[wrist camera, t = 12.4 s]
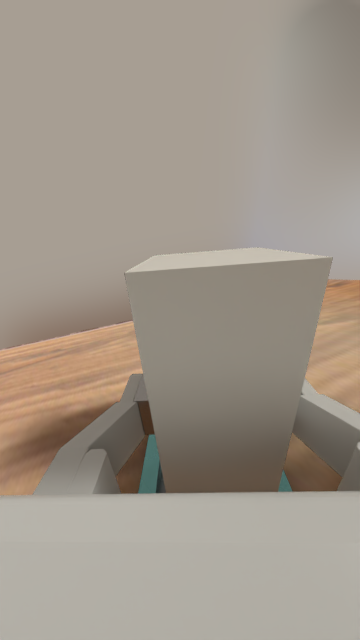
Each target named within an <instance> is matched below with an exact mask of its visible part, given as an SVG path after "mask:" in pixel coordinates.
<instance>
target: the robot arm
mask: <svg viewBox="0 0 360 640" xmlns="http://www.w3.org/2000/svg"><path fill="white" fill-rule="evenodd" d="M292 433H293V434H294V435H296V436H297V437H298V438H299V439H300V440H301V441H302V442H303V443H305V444H306V445H307V446H308V447H309V448H310V449H311V450H312V451H313V452H315V453H316V454H317V455H318V456H319V457H320V458H321V459H322V460H324V461H325V462H326V463H327V464H328V465H329V466H330V467H331V468H332V469H334V470H335V471H336V472H337V473H338V474H339V475H340V476H341V477H342V480H341V482H340V484H339V486H338V489H337V491H305V492H223V493H144V494H121V491H120V488H119V486H118V483H117V480H116V475H117V474H118V472H119V471H120V470H121V468H122V467H123V466H124V464H125V463H126V461H127V460H128V459H129V457H130V456H131V455H132V453H133V452H134V451H135V449H136V448H137V446H138V445H139V444H140V442H141V441H142V440H143V438H144V437H145V435H153V434H155V432H154V427H153V422H152V417H151V411H150V406H149V401H148V396H147V390H146V385H145V380H144V375H143V374H132V375H131V376H130V378H129V380H128V383H127V385H126V388H125V390H124V393H123V395H122V398H121V400H120V402H116V403H115V404H114V405H112V406H111V407H110V408H109V409H108V410H106V411H105V412H104V413H103V414H101V415H100V416H99V417H98V418H97V419H95V420H94V421H93V422H92V423H90V424H89V425H88V426H87V427H86V428H84V429H83V430H82V431H81V432H80V433H78V434H77V435H76V436H75V437H73V438H72V439H71V440H70V441H69V442H67V443H66V444H65V445H64V446H62V447H61V448H60V449H59V451H58V453H57V454H56V456H55V458H54V459H53V461H52V463H51V464H50V466H49V468H48V469H47V471H46V473H45V474H44V476H43V478H42V479H41V481H40V483H39V484H38V486H37V488H36V489H35V491H34V493H33V494H32V495H0V640H360V413H358V412H356V411H354V410H352V409H350V408H348V407H346V406H344V405H342V404H341V403H339V402H337V401H335V400H333V399H331V398H329V397H327V396H325V395H323V394H318V393H317V392H316V391H315V389H314V388H313V387H312V386H311V385H310V384H309V382H308V381H307V380H306V379H304V383H303V387H302V391H301V396H300V400H299V404H298V408H297V413H296V417H295V421H294V425H293V430H292Z"/></svg>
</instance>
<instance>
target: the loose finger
mask: <svg viewBox="0 0 360 640" xmlns="http://www.w3.org/2000/svg"><path fill="white" fill-rule="evenodd" d="M332 259H333V257H327V256H319V255H311V254H303V253H296V252H288V251H281V250H274V249H266V248H258V247H257V248H245V249H232V250H218V251H206V252H193V253H180V254H167V255H155V256H153V257H151V258H149V259H147V260H146V261H144V262H142V263H141V264H139V265H137V266H135V267H133V268H132V269H130V270H128V271H126V272H125V273H124V275H125V280H126V284H127V290H128V295H129V301H130V306H131V311H132V316H133V322H134V327H135V332H136V338H137V343H138V348H139V353H140V359H141V364H142V369H143V375H144V380H145V385H146V390H147V396H148V401H149V406H150V411H151V417H152V422H153V427H154V432H155V438H156V443H157V448H158V453H159V459H160V464H161V469H162V474H163V480H164V485H165V490H166V493H223V492H278V489H279V485H280V481H281V477H282V472H283V468H284V464H285V460H286V455H287V451H288V447H289V443H290V438H291V434H292V430H293V425H294V421H295V417H296V413H297V408H298V404H299V400H300V396H301V391H302V387H303V383H304V379H305V374H306V370H307V366H308V362H309V357H310V353H311V349H312V345H313V340H314V336H315V332H316V328H317V323H318V319H319V315H320V310H321V306H322V302H323V298H324V293H325V289H326V285H327V281H328V276H329V272H330V268H331V263H332Z"/></svg>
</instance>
